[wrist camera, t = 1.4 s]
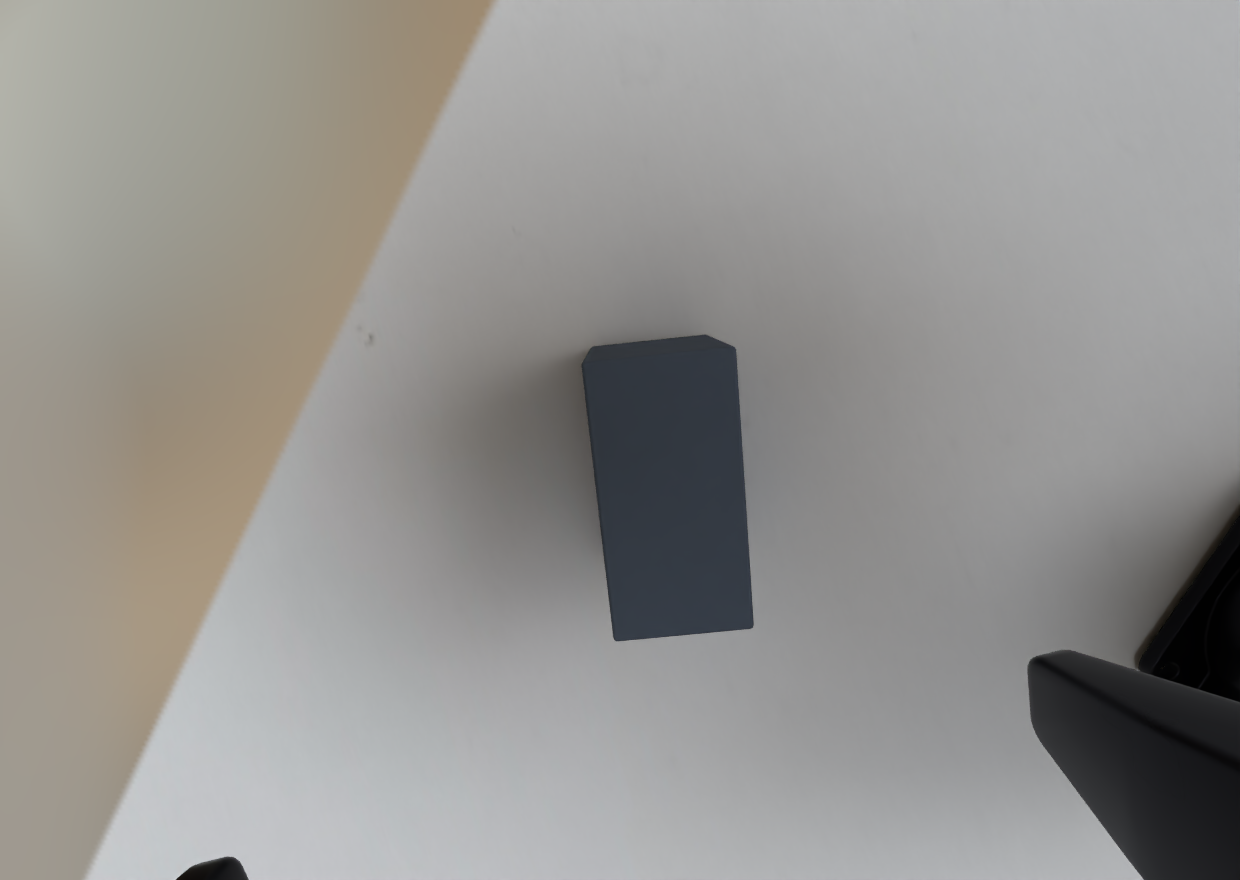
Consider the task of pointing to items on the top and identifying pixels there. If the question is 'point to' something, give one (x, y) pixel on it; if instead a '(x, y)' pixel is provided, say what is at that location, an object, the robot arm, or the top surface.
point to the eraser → (670, 485)
